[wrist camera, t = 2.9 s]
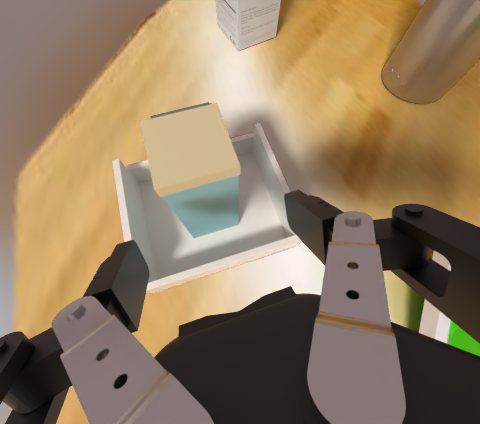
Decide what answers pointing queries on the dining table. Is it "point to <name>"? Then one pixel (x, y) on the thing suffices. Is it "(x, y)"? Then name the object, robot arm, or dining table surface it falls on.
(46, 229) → the dining table surface
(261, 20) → the supplement box
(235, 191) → the tea tin
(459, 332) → the green and white wedge
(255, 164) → the tote
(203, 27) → the dining table surface
